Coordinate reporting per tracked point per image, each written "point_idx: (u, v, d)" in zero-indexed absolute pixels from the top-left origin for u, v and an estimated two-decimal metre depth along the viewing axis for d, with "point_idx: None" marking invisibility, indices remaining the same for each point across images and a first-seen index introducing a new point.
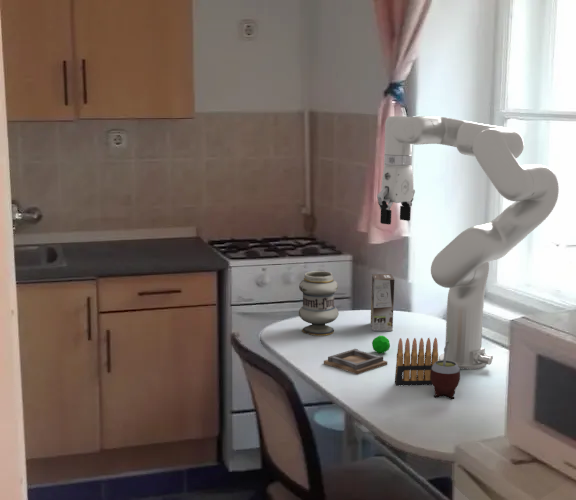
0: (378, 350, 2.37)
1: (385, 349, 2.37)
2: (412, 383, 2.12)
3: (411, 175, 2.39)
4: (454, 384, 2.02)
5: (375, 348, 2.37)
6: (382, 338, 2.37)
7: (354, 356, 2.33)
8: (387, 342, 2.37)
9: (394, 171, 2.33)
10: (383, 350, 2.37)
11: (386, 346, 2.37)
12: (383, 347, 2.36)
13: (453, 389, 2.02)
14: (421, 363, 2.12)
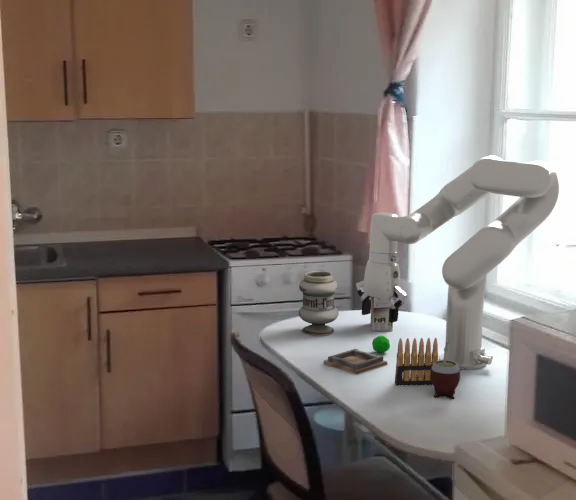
0: (378, 350, 2.37)
1: (385, 349, 2.37)
2: (412, 383, 2.12)
3: None
4: (454, 384, 2.02)
5: (375, 348, 2.37)
6: (382, 338, 2.37)
7: (354, 356, 2.33)
8: (387, 342, 2.37)
9: None
10: (383, 350, 2.37)
11: (386, 346, 2.37)
12: (383, 346, 2.36)
13: (453, 389, 2.02)
14: (421, 363, 2.12)
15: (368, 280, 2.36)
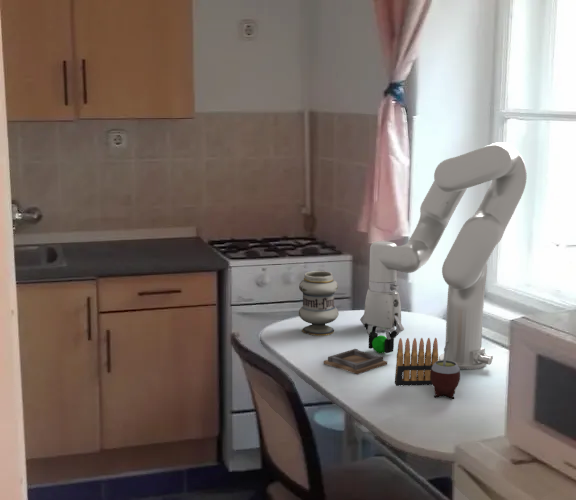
0: (378, 350, 2.37)
1: None
2: (412, 383, 2.12)
3: None
4: (454, 384, 2.02)
5: (375, 348, 2.37)
6: (382, 338, 2.37)
7: (354, 356, 2.33)
8: None
9: None
10: (383, 350, 2.37)
11: None
12: (383, 346, 2.36)
13: (453, 389, 2.02)
14: (421, 363, 2.12)
15: (369, 309, 2.37)
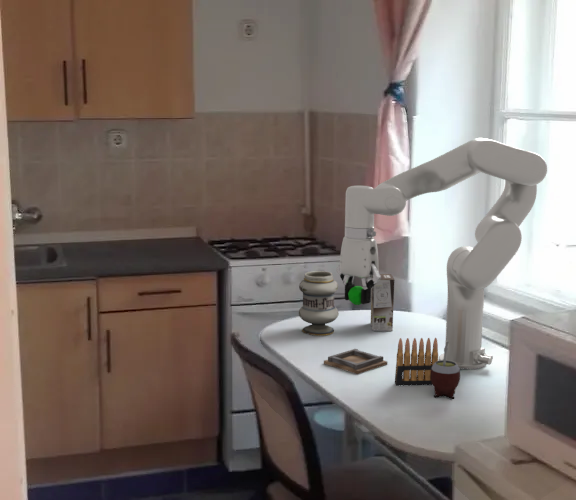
0: (354, 301, 2.24)
1: None
2: (412, 383, 2.12)
3: None
4: (454, 384, 2.02)
5: (351, 299, 2.24)
6: (359, 288, 2.24)
7: (354, 356, 2.33)
8: None
9: (376, 244, 2.21)
10: (359, 301, 2.24)
11: None
12: (360, 297, 2.23)
13: (453, 389, 2.02)
14: (421, 363, 2.12)
15: (344, 257, 2.24)
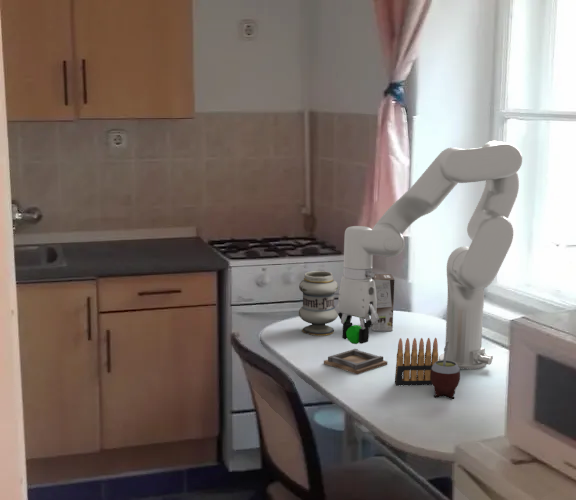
0: (352, 340, 2.25)
1: None
2: (412, 383, 2.12)
3: None
4: (454, 384, 2.02)
5: (349, 338, 2.26)
6: (356, 328, 2.26)
7: (354, 356, 2.33)
8: None
9: (374, 284, 2.23)
10: (357, 340, 2.25)
11: None
12: (358, 336, 2.25)
13: (453, 389, 2.02)
14: (421, 363, 2.12)
15: (343, 297, 2.26)
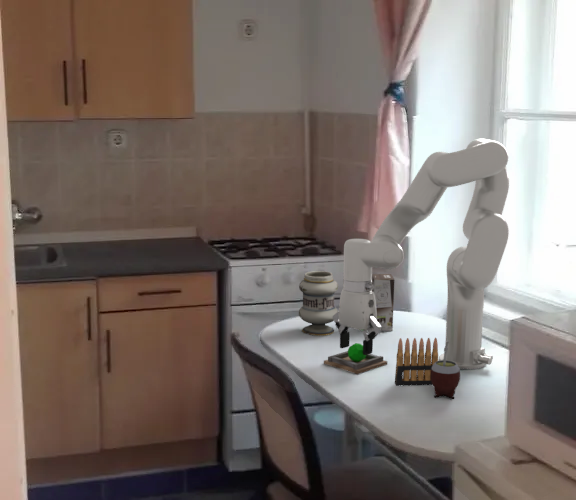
0: (354, 358, 2.26)
1: (361, 357, 2.26)
2: (412, 383, 2.12)
3: None
4: (454, 384, 2.02)
5: (351, 356, 2.26)
6: (358, 346, 2.26)
7: None
8: None
9: (374, 296, 2.24)
10: (359, 359, 2.26)
11: (362, 354, 2.26)
12: (359, 355, 2.26)
13: (453, 389, 2.02)
14: (421, 363, 2.12)
15: (343, 309, 2.26)
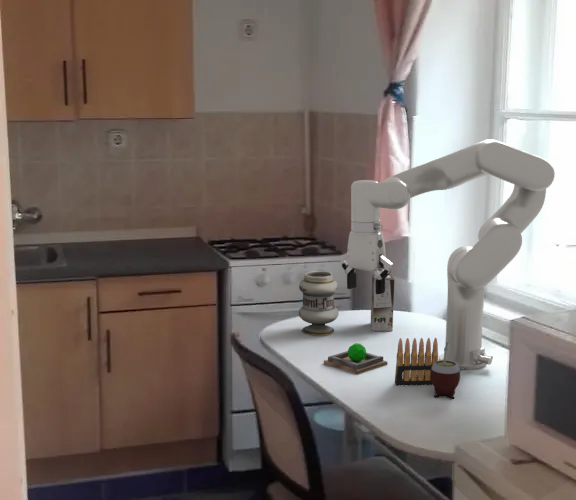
0: (354, 358, 2.26)
1: (361, 357, 2.26)
2: (412, 383, 2.12)
3: None
4: (454, 384, 2.02)
5: (351, 356, 2.26)
6: (358, 346, 2.26)
7: None
8: (363, 350, 2.26)
9: (383, 237, 2.24)
10: (359, 359, 2.26)
11: (362, 354, 2.26)
12: (359, 355, 2.26)
13: (453, 389, 2.02)
14: (421, 363, 2.12)
15: (352, 252, 2.26)
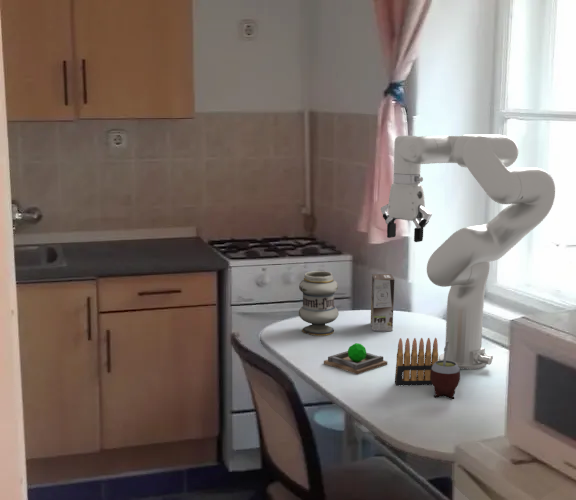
0: (354, 358, 2.26)
1: (361, 357, 2.26)
2: (412, 383, 2.12)
3: None
4: (454, 384, 2.02)
5: (351, 356, 2.26)
6: (358, 346, 2.26)
7: None
8: (363, 350, 2.26)
9: None
10: (359, 359, 2.26)
11: (362, 354, 2.26)
12: (359, 355, 2.26)
13: (453, 389, 2.02)
14: (421, 363, 2.12)
15: (393, 202, 2.43)
